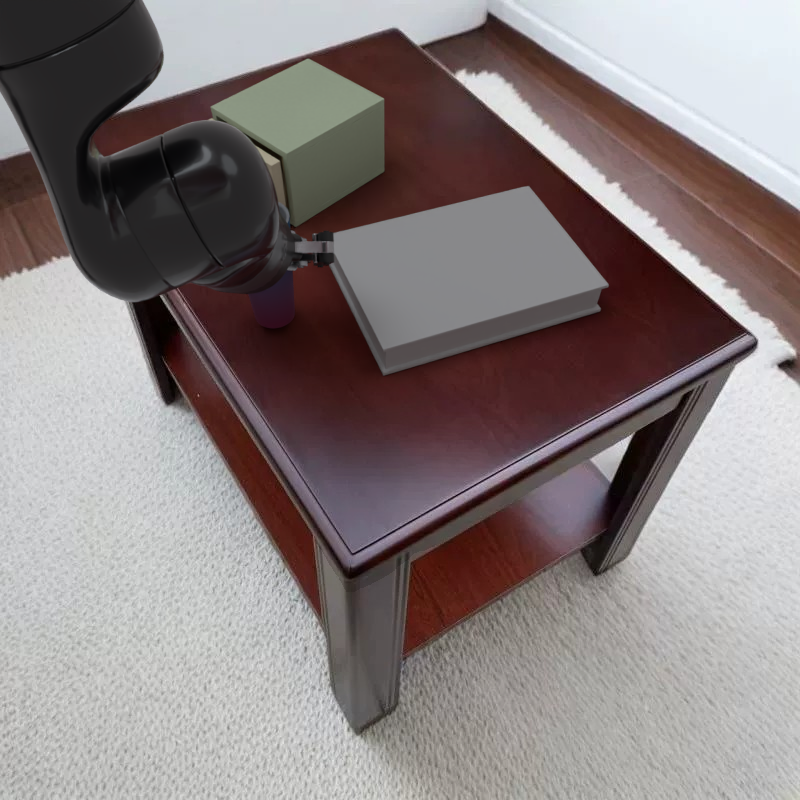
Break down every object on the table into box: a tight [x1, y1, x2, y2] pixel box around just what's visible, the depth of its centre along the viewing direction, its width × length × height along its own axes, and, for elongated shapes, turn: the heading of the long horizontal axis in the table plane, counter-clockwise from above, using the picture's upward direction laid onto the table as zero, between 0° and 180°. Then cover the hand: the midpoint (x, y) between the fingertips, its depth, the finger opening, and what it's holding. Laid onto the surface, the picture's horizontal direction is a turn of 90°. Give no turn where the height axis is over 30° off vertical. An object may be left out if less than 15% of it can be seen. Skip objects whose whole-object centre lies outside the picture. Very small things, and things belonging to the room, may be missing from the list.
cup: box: [247, 202, 296, 329], centre depth 69 cm, size 5×5×12 cm
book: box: [328, 185, 610, 377], centre depth 76 cm, size 18×4×24 cm
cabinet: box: [210, 58, 385, 228], centre depth 85 cm, size 15×13×10 cm
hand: (268, 256), depth 70 cm, fingers closed on cup, 5 cm apart
